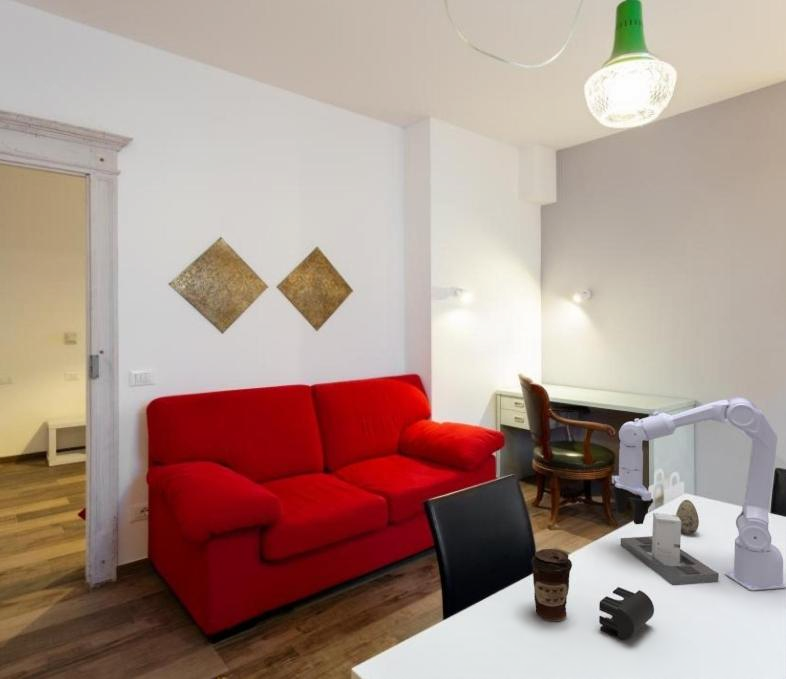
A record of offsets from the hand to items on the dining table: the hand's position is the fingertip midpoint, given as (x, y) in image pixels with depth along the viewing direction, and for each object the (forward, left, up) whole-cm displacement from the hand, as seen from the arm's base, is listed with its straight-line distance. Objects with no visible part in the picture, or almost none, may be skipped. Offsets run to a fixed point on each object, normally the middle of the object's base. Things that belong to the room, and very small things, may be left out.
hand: (629, 518), depth 137 cm
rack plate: (-8, +4, -10) cm, 14 cm away
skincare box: (-8, +4, -11) cm, 14 cm away
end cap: (+19, +30, -11) cm, 38 cm away
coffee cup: (+32, +23, -11) cm, 41 cm away
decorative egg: (-26, -12, -11) cm, 30 cm away
